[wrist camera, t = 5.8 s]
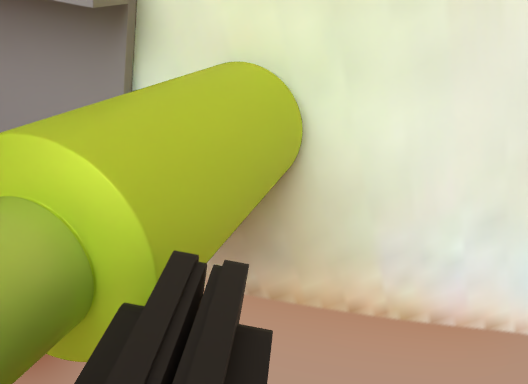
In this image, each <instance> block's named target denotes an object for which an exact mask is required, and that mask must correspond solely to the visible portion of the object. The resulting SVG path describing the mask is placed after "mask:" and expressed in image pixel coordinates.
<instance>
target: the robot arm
mask: <svg viewBox="0 0 528 384" xmlns="http://www.w3.org/2000/svg"><path fill="white" fill-rule="evenodd" d="M248 268H249V264H244V263H239V262H234V261H228V260H225V261H224V263H223V266H219V265H214V266H213V268H212V271H211V274H210V277H209V280H208V283H207V285H206V288H205V291H204V284H205V277H206V270H207V263H203V262H199V255H196V254H191V253H186V252H180V251H173V252H172V254H171V256H170V258H169V260H168V262H167V264H166V266H165V268H164V270H163V272H162V274H161V276H160V277H159V279H158V281H157V283H156V285H155V287H154V289H153V291H152V293H151V295H150V297H149V299H148V301H147V303H146V305H145V306H141V305H135V304H130V303H123V304H122V305H121V306H120V308H119V309H118V311H117V312H116V314H115V316H114V317H113V319H112V321H111V323H110V324H109V326H108V328H107V329H106V331H105V333H104V334H103V336H102V338H101V339H100V341H99V343H98V344H97V346H96V348H95V350H94V351H93V353H92V355H91V356H90V358H89V360H88V361H87V363H86V365H85V367H84V368H83V370H82V372H81V373H80V375H79V377H78V378H77V380H76V382H75V383H74V384H267V379H268V369H269V361H270V352H271V343H272V334H273V331H272V330H267V329H262V328H256V327H251V326H246V325H241V324H239V320H240V314H241V308H242V302H243V297H244V291H245V285H246V280H247V274H248ZM203 292H204V294H203Z"/></svg>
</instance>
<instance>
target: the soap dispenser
mask: <svg viewBox="0 0 528 384" xmlns="http://www.w3.org/2000/svg"><path fill="white" fill-rule="evenodd" d="M301 141H302V119H301V114H300V111H299V108H298V105H297V103H296V100H295V98H294V97H293V95H292V93H291V92H290V90H289V89H288V88H287V86H286V85H285V84H284V83H283V82H282V81H281V80H280V79H279V78H278V77H277V76H276V75H274V74H273V73H271V72H270V71H268V70H266V69H265V68H263V67H260V66H258V65H255V64H251V63H246V62H228V63H223V64H220V65H216V66H213V67H210V68H207V69H203V70H200V71H197V72H194V73H191V74H187V75H184V76H181V77H178V78H174V79H171V80H168V81H165V82H162V83H158V84H155V85H152V86H149V87H146V88H142V89H139V90H136V91H133V92H129V93H126V94H123V95H120V96H117V97H113V98H110V99H107V100H104V101H100V102H97V103H94V104H91V105H88V106H84V107H81V108H78V109H75V110H72V111H68V112H65V113H62V114H59V115H55V116H52V117H49V118H46V119H43V120H39V121H36V122H33V123H30V124H26V125H23V126H20V127H17V128H14V129H10V130H7V131H4V132H1V133H0V384H13V383H14V382H15V381H16V380H17V379H18V378H19V377H21V375H23V374H24V373H25V372H26V371H27V370H28V369H29V368H30V367H32V366H33V365H34V364H35V363H36V362H37V361H38V360H39V359H40V358H41V357H43V356H44V355H45V354H48V355H51V356H54V357H57V358H61V359H64V360H70V361H77V362H87V361H88V360H89V358H90V356H91V355H92V353H93V351H94V350H95V348H96V346H97V344H98V343H99V341H100V339H101V338H102V336H103V334H104V333H105V331H106V329H107V328H108V326H109V324H110V323H111V321H112V319H113V317H114V316H115V314H116V312H117V311H118V309H119V308H120V306H121V305H122V304H123V303H130V304H135V305H141V306H145V305H146V303H147V301H148V299H149V297H150V295H151V293H152V291H153V289H154V287H155V285H156V283H157V281H158V279H159V277H160V276H161V274H162V272H163V270H164V268H165V266H166V264H167V262H168V260H169V258H170V256H171V254H172V252H173V251H180V252H186V253H191V254H196V255H199V262H203V263H207V262H208V261H209V260H210V258H211V257H212V256H213V255H214V254H215V253H216V252H217V250H218V249H219V248H220V247H221V246H222V245H223V243H224V242H225V241H226V240H227V239H228V238H229V237H230V235H231V234H232V233H233V232H234V231H235V230H236V229H237V227H238V226H239V225H240V224H241V223H242V222H243V220H244V219H245V218H246V217H247V216H248V215H249V214H250V212H251V211H252V210H253V209H254V208H255V207H256V206H257V204H258V203H259V202H260V201H261V200H262V199H263V197H264V196H265V195H266V194H267V193H268V192H269V191H270V189H271V188H272V187H273V186H274V185H275V184H276V183H277V181H278V180H279V179H280V178H281V177H282V176H283V174H284V173H285V172H286V171H287V170H288V169H289V168H290V166H291V165H292V163H293V162H294V160H295V158H296V156H297V154H298V152H299V149H300V145H301Z"/></svg>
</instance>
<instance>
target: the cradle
mask: <svg viewBox="0 0 528 384" xmlns="http://www.w3.org/2000/svg"><path fill="white" fill-rule="evenodd" d="M136 4H137V0H0V133H1V132H4V131H7V130H10V129H14V128H17V127H20V126H23V125H26V124H30V123H33V122H36V121H39V120H43V119H46V118H49V117H52V116H55V115H59V114H62V113H65V112H68V111H72V110H75V109H78V108H81V107H84V106H88V105H91V104H94V103H97V102H100V101H104V100H107V99H110V98H113V97H117V96H120V95H123V94H126V93H129V92H131V89H132V72H133V55H134V38H135V21H136Z"/></svg>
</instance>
